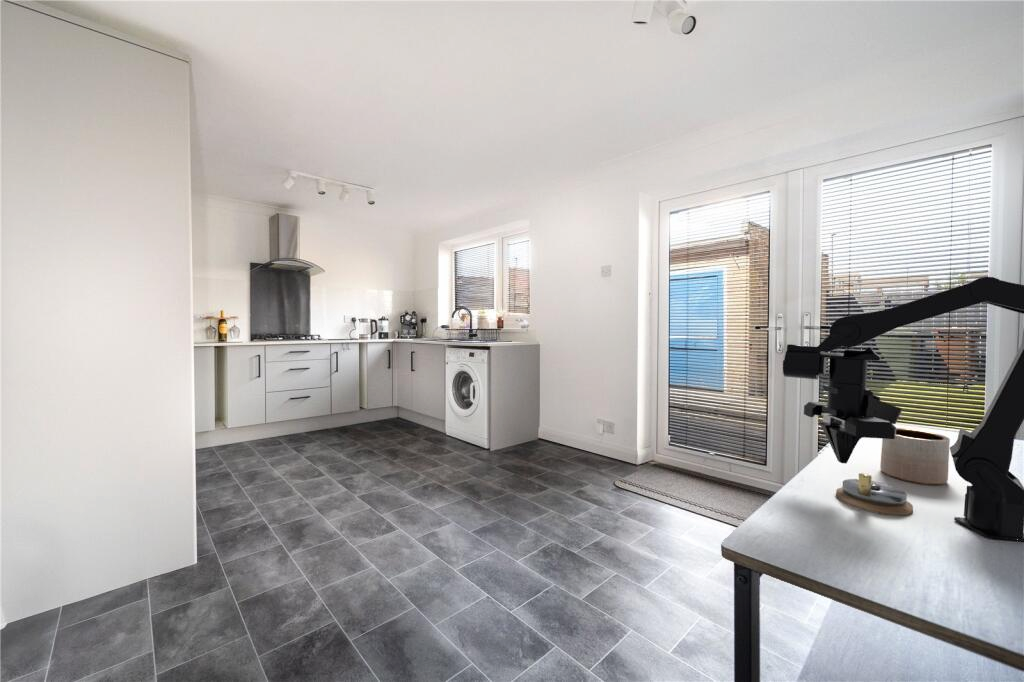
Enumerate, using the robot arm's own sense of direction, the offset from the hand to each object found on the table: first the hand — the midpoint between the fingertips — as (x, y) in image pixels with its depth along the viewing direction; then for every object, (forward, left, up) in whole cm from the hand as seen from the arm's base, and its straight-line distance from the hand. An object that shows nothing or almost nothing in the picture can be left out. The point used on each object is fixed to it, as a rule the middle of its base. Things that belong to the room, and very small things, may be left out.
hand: (842, 462), depth 83 cm
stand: (-2, -4, -7) cm, 8 cm away
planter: (+15, -22, -7) cm, 28 cm away
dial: (-2, -4, -5) cm, 7 cm away
